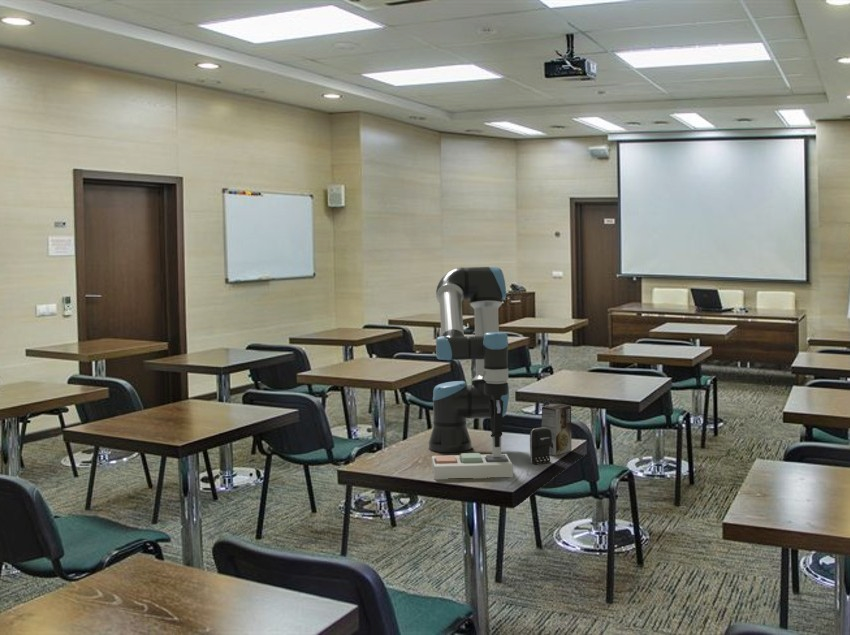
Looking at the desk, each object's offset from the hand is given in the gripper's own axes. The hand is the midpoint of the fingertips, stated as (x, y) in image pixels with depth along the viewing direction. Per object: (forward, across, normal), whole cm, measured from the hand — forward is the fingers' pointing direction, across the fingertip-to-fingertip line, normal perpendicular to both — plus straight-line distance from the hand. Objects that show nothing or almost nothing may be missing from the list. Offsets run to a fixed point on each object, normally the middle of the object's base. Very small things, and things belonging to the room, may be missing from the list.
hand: (496, 456), depth 266 cm
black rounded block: (+5, -10, +16) cm, 20 cm away
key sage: (+3, 0, -8) cm, 8 cm away
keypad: (+5, 0, -8) cm, 9 cm away
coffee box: (+5, -25, +24) cm, 35 cm away
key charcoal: (+3, 0, 0) cm, 3 cm away
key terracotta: (+3, 0, -16) cm, 16 cm away
